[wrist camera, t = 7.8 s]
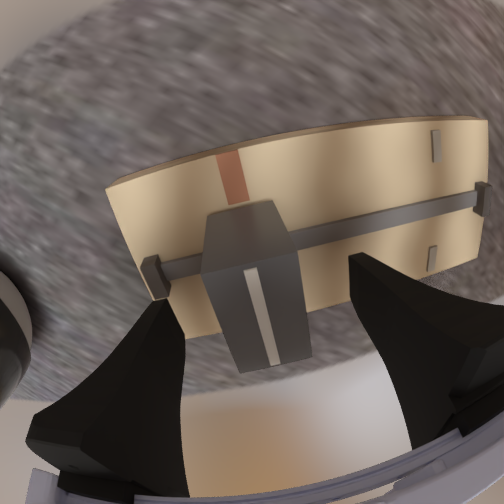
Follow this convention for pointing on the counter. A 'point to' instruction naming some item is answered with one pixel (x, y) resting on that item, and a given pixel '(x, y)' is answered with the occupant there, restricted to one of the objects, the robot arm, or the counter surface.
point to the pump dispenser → (13, 338)
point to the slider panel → (315, 205)
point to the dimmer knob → (256, 286)
